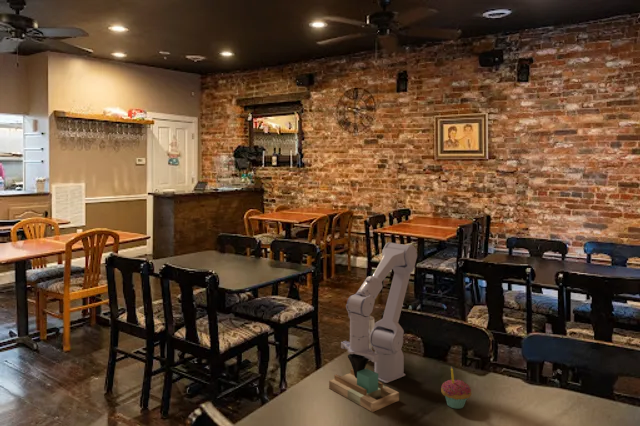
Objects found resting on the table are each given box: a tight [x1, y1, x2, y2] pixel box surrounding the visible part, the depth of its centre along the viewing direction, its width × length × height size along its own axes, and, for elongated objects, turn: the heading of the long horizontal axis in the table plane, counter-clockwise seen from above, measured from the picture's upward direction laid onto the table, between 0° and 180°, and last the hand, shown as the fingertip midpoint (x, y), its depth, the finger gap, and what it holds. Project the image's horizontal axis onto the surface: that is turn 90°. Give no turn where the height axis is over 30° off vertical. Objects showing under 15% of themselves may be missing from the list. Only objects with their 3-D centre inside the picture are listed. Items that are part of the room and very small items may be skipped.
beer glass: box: [367, 314, 376, 363], centre depth 181 cm, size 7×7×15 cm
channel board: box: [328, 368, 400, 413], centre depth 154 cm, size 11×19×4 cm, turn 39°
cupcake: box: [440, 366, 472, 410], centre depth 148 cm, size 9×8×12 cm
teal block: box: [357, 367, 379, 394], centre depth 153 cm, size 4×5×5 cm
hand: (358, 377), depth 156 cm, fingers closed
